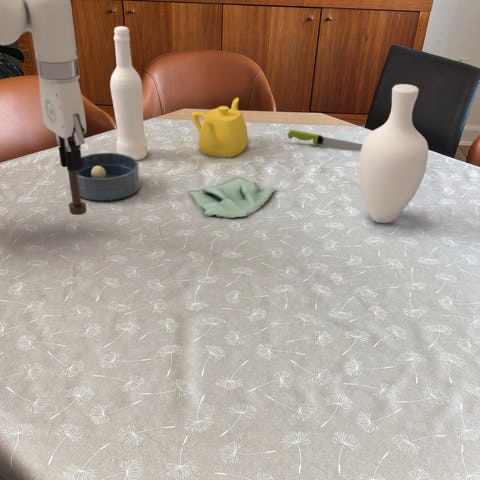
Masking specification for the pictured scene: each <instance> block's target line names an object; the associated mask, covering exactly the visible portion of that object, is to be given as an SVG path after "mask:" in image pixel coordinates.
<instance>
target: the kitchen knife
mask: <svg viewBox="0 0 480 480" xmlns="http://www.w3.org/2000/svg"><path fill="white" fill-rule="evenodd" d="M287 137H288V138H289V139H290V140H291V139H292V138H296V139H298V140H300V141H311V140H312V147H314V148H315V147H322V148H330V149H338V150H339V149H340V150H349V151H361V148H362V145H363V143H358V142H352V141H347V140H342V139H337V138H332V137H327V136H322V135H321V134H315V133H311V132H305V131H301V130H296V129H295V130H293V129H290V130H289V131H288V133H287Z"/></svg>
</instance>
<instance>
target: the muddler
mask: <svg viewBox="0 0 480 480" xmlns="http://www.w3.org/2000/svg"><path fill="white" fill-rule="evenodd" d="M73 139H74V138H72V139H70V142H71V140H73ZM64 146H65V151H67V150H66V145H65V139H64ZM67 172H68V174H67V175H68V180H69V187H70V193H71V194H70V195H71V201H72V202H70V203H68V210H69V213H70V214H71V215H73V216H82V215H84V214H86V213H87V211H88V209H87V203H86V202H84V201H82V198H81V197H82V196H80V189H79V182H78V174H77V170H74V171H68V170H67Z"/></svg>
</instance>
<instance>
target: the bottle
mask: <svg viewBox="0 0 480 480" xmlns="http://www.w3.org/2000/svg"><path fill="white" fill-rule="evenodd" d="M113 33H114V35H113V41H114V49H115V50H114V51H115V61H116V62H115V63H116V66H115V69H114V70H113V72H112V74H111V76H110V80H109V87H110V95H111V100H112V105H113V111H114V112H113V113H114V118H115V119H114V120H115V123H116V125H115V126H116V131H117V138H116V143H115V144H116V151H117V154H124V155H127V156H130V157H132V158H134V159H136V161H140V160H143V159H145V158H147V155H148V150H149V149H148V141H147V139H146V136H145V130H144V100H143V99H144V98H143V96H144V95H143V93H144V92H143V81H142V79H141V77H140V74H139V73H138V72H137V70H136V69H135V68H134V67H133V62H132V52H131V51H132V50H131V45H130V40H131V38H130V29H129V27H127V26H125V25H124V26H123V25H119V26H116V27H114V30H113Z"/></svg>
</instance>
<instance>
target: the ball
mask: <svg viewBox="0 0 480 480" xmlns="http://www.w3.org/2000/svg"><path fill="white" fill-rule="evenodd" d="M91 176H92V178H105V177H106V171H105V169H104V168H103V167H101V166H95V167H93V169H92V170H91Z"/></svg>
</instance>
